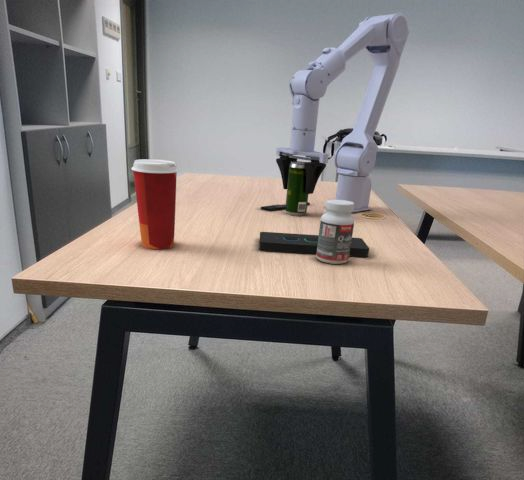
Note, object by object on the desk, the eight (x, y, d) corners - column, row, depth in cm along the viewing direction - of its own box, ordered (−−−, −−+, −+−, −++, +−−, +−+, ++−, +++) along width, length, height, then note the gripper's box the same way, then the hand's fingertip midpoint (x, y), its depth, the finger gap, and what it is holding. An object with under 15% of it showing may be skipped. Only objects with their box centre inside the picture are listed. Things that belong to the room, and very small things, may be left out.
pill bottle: (340, 266, 80) (349, 206, 75) (310, 259, 82) (317, 201, 78) (353, 259, 84) (362, 202, 79) (324, 253, 87) (331, 197, 82)
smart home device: (259, 230, 92) (361, 237, 92) (259, 239, 93) (360, 245, 93) (259, 241, 84) (370, 248, 85) (259, 250, 85) (368, 257, 86)
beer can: (310, 215, 117) (316, 163, 112) (295, 216, 114) (300, 164, 108) (296, 210, 121) (300, 160, 115) (280, 212, 118) (284, 161, 112)
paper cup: (187, 243, 87) (186, 162, 80) (166, 253, 80) (163, 165, 74) (149, 237, 89) (146, 157, 82) (126, 246, 82) (120, 160, 76)
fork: (303, 203, 131) (303, 201, 131) (311, 205, 129) (311, 203, 129) (260, 209, 120) (260, 206, 120) (268, 211, 118) (269, 208, 118)
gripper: (269, 127, 110) (265, 187, 117) (317, 132, 102) (310, 197, 108) (289, 127, 115) (284, 185, 121) (336, 132, 106) (329, 195, 113)
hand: (298, 191), depth 115 cm, fingers open, 7 cm apart
